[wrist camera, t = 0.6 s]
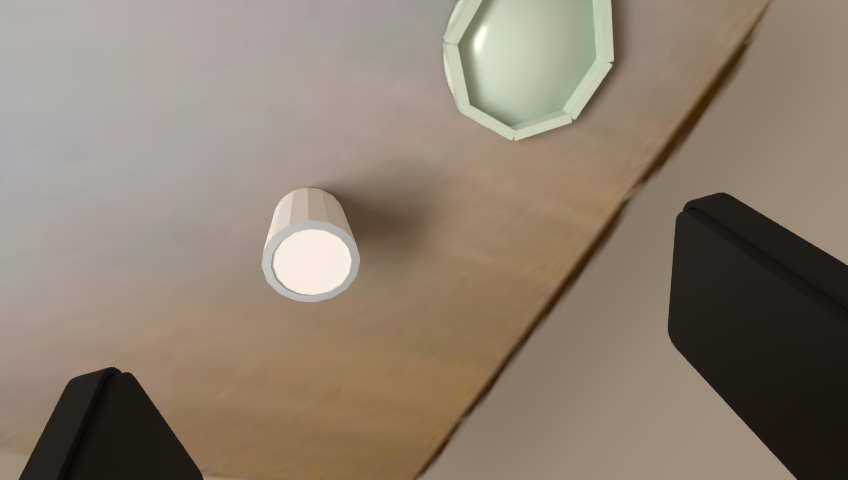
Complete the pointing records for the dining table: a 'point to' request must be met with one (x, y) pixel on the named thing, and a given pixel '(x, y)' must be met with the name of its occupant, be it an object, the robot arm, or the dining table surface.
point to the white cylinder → (310, 247)
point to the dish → (526, 61)
